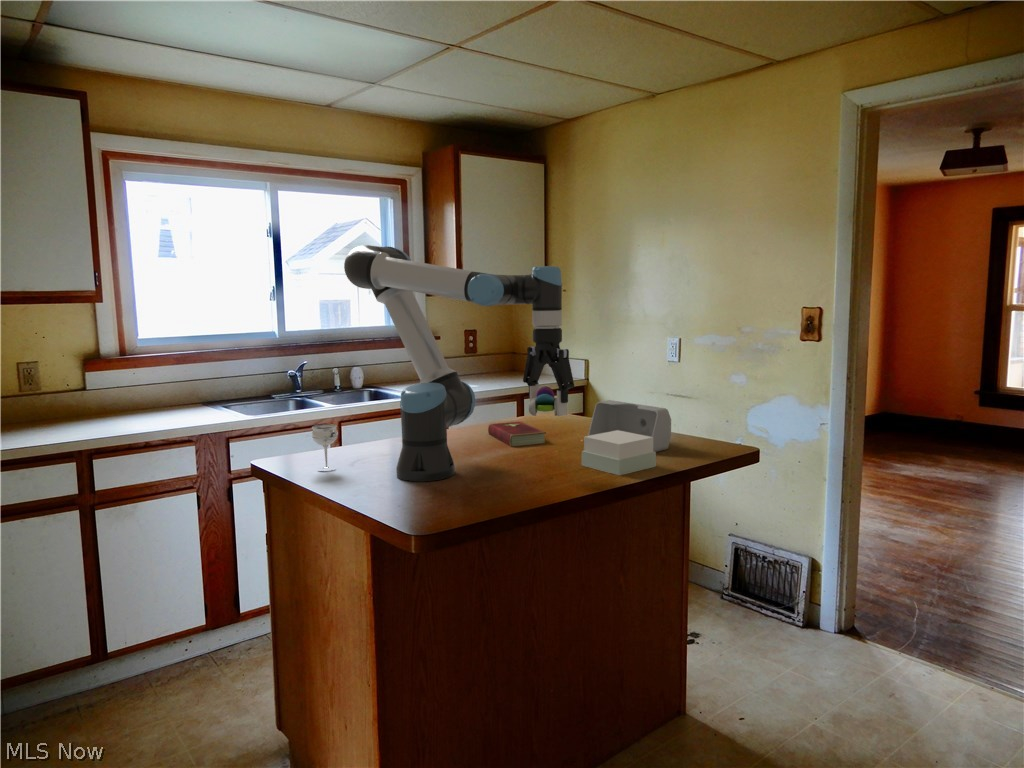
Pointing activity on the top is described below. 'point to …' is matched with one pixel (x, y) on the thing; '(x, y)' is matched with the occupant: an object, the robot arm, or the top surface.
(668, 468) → the top surface
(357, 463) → the top surface
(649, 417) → the light grey storage bin
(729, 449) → the top surface
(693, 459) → the top surface
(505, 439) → the hardcover book
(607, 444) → the grey square box
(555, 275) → the robot arm
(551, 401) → the chunky wheeled toy
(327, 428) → the wineglass
